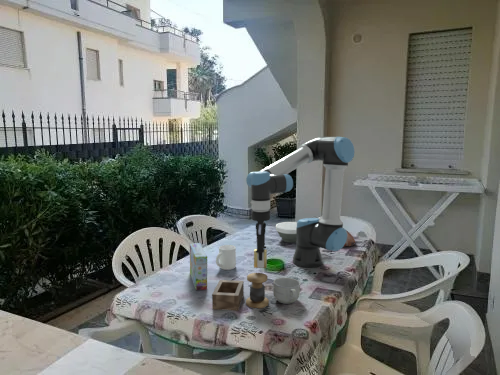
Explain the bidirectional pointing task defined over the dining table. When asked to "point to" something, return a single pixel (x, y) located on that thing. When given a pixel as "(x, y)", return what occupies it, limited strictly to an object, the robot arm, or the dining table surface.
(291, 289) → the teacup
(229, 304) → the open wooden crate
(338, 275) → the dining table surface
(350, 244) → the bread
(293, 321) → the dining table surface
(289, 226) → the bowl
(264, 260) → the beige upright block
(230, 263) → the mug
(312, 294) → the dining table surface
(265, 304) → the bobbin
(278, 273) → the dining table surface
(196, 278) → the snack box
